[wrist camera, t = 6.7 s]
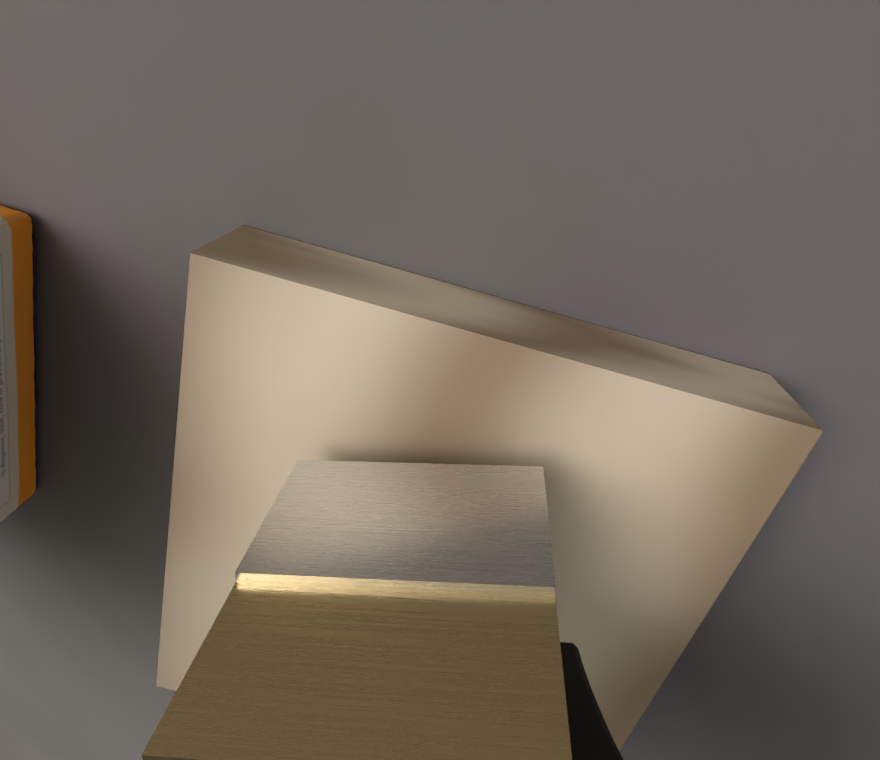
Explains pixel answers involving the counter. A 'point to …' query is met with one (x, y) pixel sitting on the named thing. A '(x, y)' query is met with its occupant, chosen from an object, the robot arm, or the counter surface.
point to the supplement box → (16, 362)
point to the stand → (471, 441)
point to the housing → (384, 624)
